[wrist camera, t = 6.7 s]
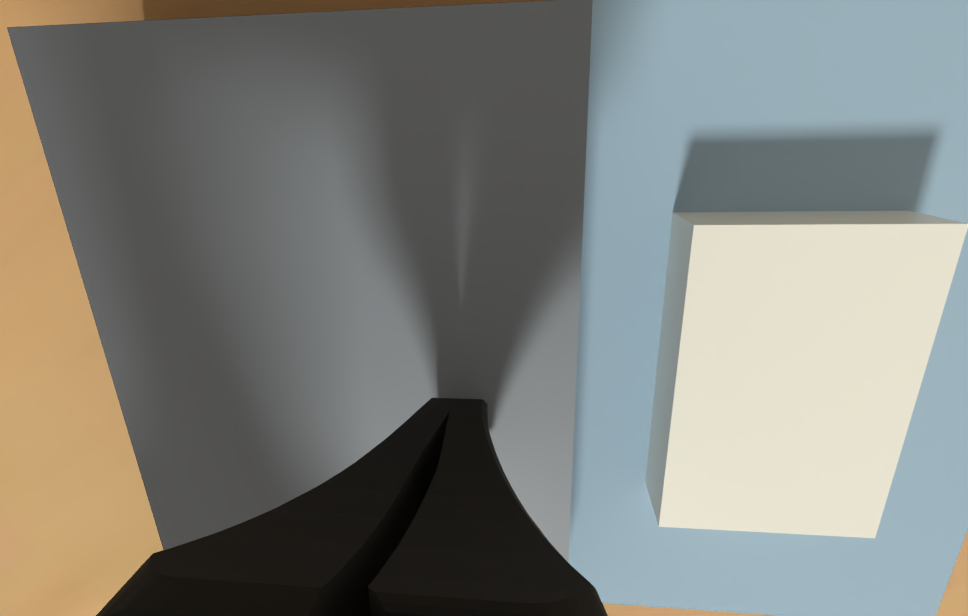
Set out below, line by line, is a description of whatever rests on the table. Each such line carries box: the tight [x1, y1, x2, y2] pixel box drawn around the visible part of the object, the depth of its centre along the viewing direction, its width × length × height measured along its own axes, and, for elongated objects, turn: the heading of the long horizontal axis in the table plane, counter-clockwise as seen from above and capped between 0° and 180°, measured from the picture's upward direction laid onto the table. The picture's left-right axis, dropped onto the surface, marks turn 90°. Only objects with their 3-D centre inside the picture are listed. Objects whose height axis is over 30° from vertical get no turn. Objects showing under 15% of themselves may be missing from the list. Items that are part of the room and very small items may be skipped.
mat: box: [568, 0, 968, 616], centre depth 15 cm, size 20×13×1 cm, turn 1°
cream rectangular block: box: [645, 211, 968, 538], centre depth 14 cm, size 9×6×2 cm, turn 1°
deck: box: [7, 0, 593, 562], centre depth 15 cm, size 18×12×4 cm, turn 1°
